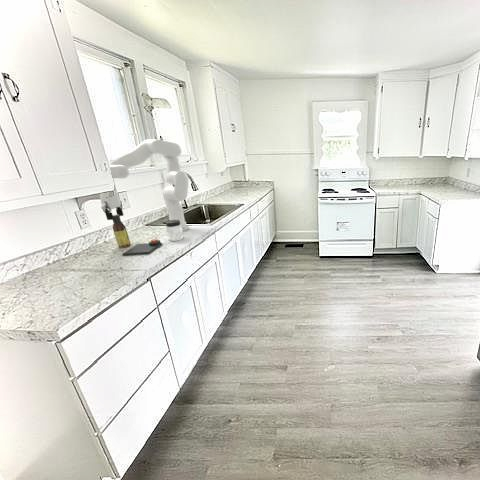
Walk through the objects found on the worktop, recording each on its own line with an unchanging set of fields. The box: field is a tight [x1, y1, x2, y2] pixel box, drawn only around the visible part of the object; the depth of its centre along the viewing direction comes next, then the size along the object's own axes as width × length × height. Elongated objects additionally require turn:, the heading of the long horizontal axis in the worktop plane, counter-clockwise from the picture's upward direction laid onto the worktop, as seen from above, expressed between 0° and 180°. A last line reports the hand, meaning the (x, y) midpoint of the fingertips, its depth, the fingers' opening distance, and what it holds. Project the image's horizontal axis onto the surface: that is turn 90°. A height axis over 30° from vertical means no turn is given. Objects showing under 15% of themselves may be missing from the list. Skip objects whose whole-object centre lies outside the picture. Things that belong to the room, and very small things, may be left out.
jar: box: [165, 219, 184, 242], centre depth 170 cm, size 9×8×12 cm
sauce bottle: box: [112, 214, 131, 249], centre depth 158 cm, size 7×6×20 cm
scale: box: [121, 239, 163, 257], centre depth 154 cm, size 16×14×3 cm
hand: (115, 217), depth 154 cm, fingers open, 9 cm apart
